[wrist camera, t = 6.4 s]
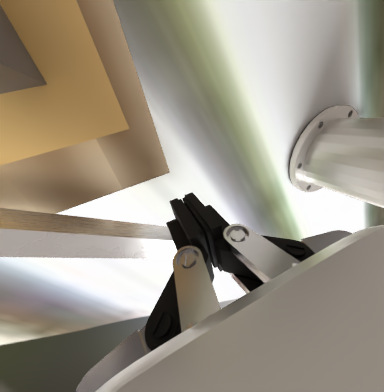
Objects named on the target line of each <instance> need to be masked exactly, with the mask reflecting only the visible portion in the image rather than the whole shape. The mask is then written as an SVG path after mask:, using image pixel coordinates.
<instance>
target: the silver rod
mask: <svg viewBox="0 0 384 392" xmlns="http://www.w3.org/2000/svg"><path fill="white" fill-rule="evenodd" d="M176 252H177V250H176V247H175V245H174V242H173V239H172V237H171V234H170V231H169V229H168V227H164V226H155V225H147V224H138V223H129V222H120V221H112V220H103V219H94V218H85V217H77V216H68V215H59V214H50V213H42V212H33V211H24V210H15V209H7V208H0V257H62V258H150V259H173V257H174V255H175V253H176Z"/></svg>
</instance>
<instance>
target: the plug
mask: <svg viewBox="0 0 384 392" xmlns="http://www.w3.org/2000/svg"><path fill="white" fill-rule="evenodd" d="M128 129H129V126H128V124H127V122H126V119H125V117H124V114H123V112H122V109H121V107H120V105H119V102H118V100H117V97H116V95H115V93H114V90H113V88H112V85H111V83H110V80H109V78H108V76H107V73H106V71H105V68H104V66H103V63H102V61H101V59H100V56H99V54H98V51H97V49H96V46H95V44H94V42H93V39H92V37H91V34H90V32H89V30H88V27H87V25H86V22H85V20H84V17H83V15H82V13H81V10H80V8H79V5H78V3H77V0H0V165H4V164H8V163H11V162H15V161H18V160H22V159H25V158H29V157H32V156H36V155H39V154H43V153H46V152H50V151H53V150H57V149H61V148H64V147H68V146H71V145H75V144H78V143H82V142H85V141H89V140H92V139H96V138H99V137H103V136H106V135H110V134H113V133H117V132H121V131H124V130H128Z"/></svg>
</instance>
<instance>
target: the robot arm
mask: <svg viewBox="0 0 384 392" xmlns="http://www.w3.org/2000/svg"><path fill="white" fill-rule="evenodd" d="M290 179H291V182H292V184H293V185H294V186H295V187H296V188H297V189H299V190H302V191H304V192H313V191H316V190H319V189H321V188H323V187H324V188H327V189H330V190H332V191H335V192H338V193H341V194H344V195H347V196H350V197H353V198H356V199H359V200H362V201H365V202H367V203H370V204H373V205H376V206H379V207H382V208H384V118H359V117H358V114H357V112H356V111H355V109H354V108H352V107H351V106H347V105H340V106H333V107H330V108H327V109H326V110H324V111H323V112H321V113H320V114H319V115H317V116H316V117H315V118H314V119H313V120H312V121H311V122H310V123H309V125H308V126H307V127H306V128H305V130H304V131H303V133H302V134H301V136H300V138H299V139H298V141H297V143H296V146H295V148H294V150H293V153H292V157H291V161H290ZM183 202H184V203H183ZM170 204H171V207H172V209H173V212H174V215H175V218H176V219H174V220H172V221H170V222H167V226H168V229H169V231H170V234H171V237H172V239H173V242H174V245H175V247H176V250H177V252H176V253H175V255H174V257H173V268H174V271H173V273H172V275H171V277H170V279H169V281H168V283H167V285H166V286H165V288H164V290H163V292H162V294H161V296H160V298H159V300H158V302H157V303H156V305H155V307H154V309H153V311H152V313H151V315H150V317H149V319H148V321H147V324H146V326H144V327H143V328H142V329H141V330H140V331H139V330H136V331H135V332H134V333H133V334H132V335H130V336H129V337H128V338H127V339H126V340H125V341H123V342H122V343H121V344H120V345H119V346H117V347H116V348H115V349H114V350H113V351H112V352H110V354H108V355H107V356H106V357H104V358H103V359H102V360H101V361H100V362H99V363H97V364H96V365H95V366H94V367H93V368H92V369H91V370H90V371H89V372H88V373H87V374H86V375H85V376H84V377H83V379H82V380H81V383H80V384H79V385H78V387H77V390H76V392H384V225H380V226H375V227H370V228H366V229H363V230H360V231H357V232H355V233H353V234H352V233H350V232H347V231H340V230H337V231H331V232H327V233H324V234H320V235H316V236H312V237H308V238H304V239H301V242H299V241H295V240H290V239H283V238H276V237H269V236H262V235H259V234H258V233H256V232H255V231H253V230H252V229H250V228H249V227H247V226H245V225H242V224H232V225H229V224H228V223H227V222H226V221H225V220H224V219H223V218H222V217H221V216H220V215H219V214H218V213H217V211H216V210H215V209H214V208H213V207H212V206H210V205H208V206H204V205H203V204H202V203H201V202H200V200H199V199H198V198H197V197H196V196H195V195H194V194H193V193H189V194H187V195H185V198H183V201H182V200H181V199H180V200H178V199H174V200H171V201H170ZM211 263H212V264H213V266H214V267H218V269H219V270H220V271H222V270H224V271H225V272H229V273H230V275H231V276H232V278H233V279H234V280H235V281H236V282H237V283H238V284H239V286H240V287H241V288H242V289H243V290H244V291H245V292H246V293H247V294H246V295H244V296H243V297H241V298H239V299H238V300H236V301H234V302H233V303H231V304H229V305H228V306H226V307H224V308H222V309H221V308H220V305H219V302H218V299H217V296H216V293H215V291H214V288H213V285H212V282H213V279H214V274H213V270H212V269H213V268H212V264H211Z"/></svg>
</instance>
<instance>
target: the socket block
mask: <svg viewBox="0 0 384 392" xmlns="http://www.w3.org/2000/svg"><path fill="white" fill-rule="evenodd" d="M77 3H78V5H79V8H80V10H81V13H82V15H83V17H84V20H85V22H86V25H87V27H88V30H89V32H90V34H91V37H92V39H93V42H94V44H95V46H96V49H97V51H98V54H99V56H100V59H101V61H102V63H103V66H104V68H105V71H106V73H107V76H108V78H109V80H110V83H111V85H112V88H113V90H114V93H115V95H116V97H117V100H118V102H119V105H120V107H121V109H122V112H123V114H124V117H125V119H126V122H127V124H128V126H129V129H128V130H124V131H121V132H117V133H113V134H110V135H106V136H103V137H99V138H96V139H92V140H89V141H85V142H82V143H78V144H75V145H71V146H68V147H64V148H61V149H57V150H53V151H50V152H46V153H43V154H39V155H36V156H32V157H29V158H25V159H22V160H18V161H15V162H11V163H8V164H4V165H0V208H7V209H15V210H24V211H33V212H42V213H50V214H56V213H58V212H61V211H64V210H67V209H69V208H72V207H75V206H78V205H81V204H83V203H86V202H89V201H92V200H94V199H97V198H100V197H103V196H106V195H108V194H111V193H114V192H117V191H120V190H122V189H125V188H128V187H131V186H133V185H136V184H139V183H142V182H145V181H147V180H150V179H153V178H156V177H158V176H161V175H164V174H167V173H170V172H169V169H168V166H167V163H166V160H165V157H164V153H163V150H162V147H161V144H160V141H159V138H158V135H157V132H156V129H155V126H154V123H153V120H152V117H151V114H150V111H149V108H148V105H147V102H146V99H145V96H144V93H143V90H142V87H141V84H140V81H139V78H138V75H137V72H136V69H135V66H134V63H133V60H132V57H131V54H130V51H129V48H128V45H127V42H126V39H125V36H124V33H123V30H122V26H121V23H120V20H119V17H118V14H117V11H116V8H115V5H114V2H113V0H77Z"/></svg>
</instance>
